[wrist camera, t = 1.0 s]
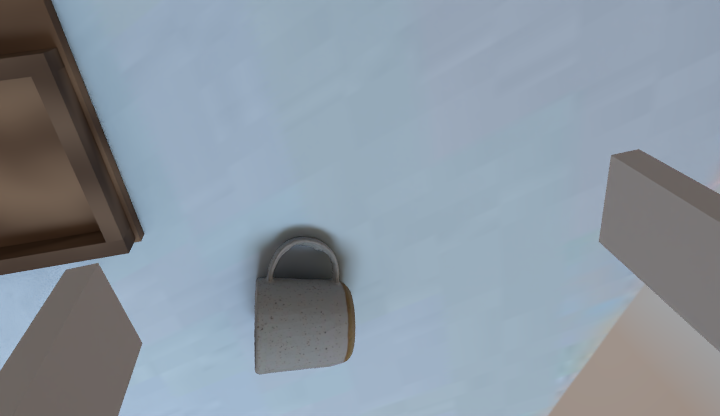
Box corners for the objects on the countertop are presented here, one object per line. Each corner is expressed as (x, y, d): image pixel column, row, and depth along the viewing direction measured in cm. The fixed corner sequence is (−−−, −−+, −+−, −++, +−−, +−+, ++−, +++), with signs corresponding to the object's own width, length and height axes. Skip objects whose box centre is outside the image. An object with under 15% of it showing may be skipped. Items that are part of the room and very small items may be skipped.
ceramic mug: (340, 325, 45) (352, 388, 38) (254, 328, 43) (251, 394, 37) (350, 231, 40) (366, 284, 34) (254, 230, 39) (250, 286, 32)
